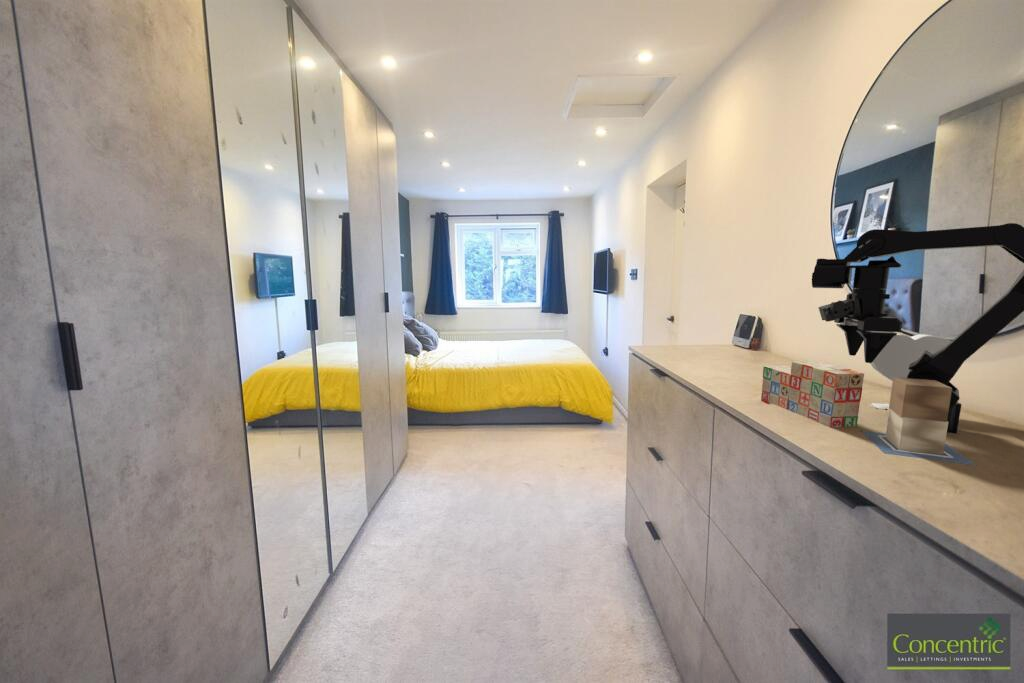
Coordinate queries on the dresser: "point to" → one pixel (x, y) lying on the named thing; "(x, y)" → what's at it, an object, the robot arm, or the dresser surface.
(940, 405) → the walnut block
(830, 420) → the stack of blocks
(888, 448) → the board
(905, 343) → the heart sculpture
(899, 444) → the beech block
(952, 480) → the dresser surface
